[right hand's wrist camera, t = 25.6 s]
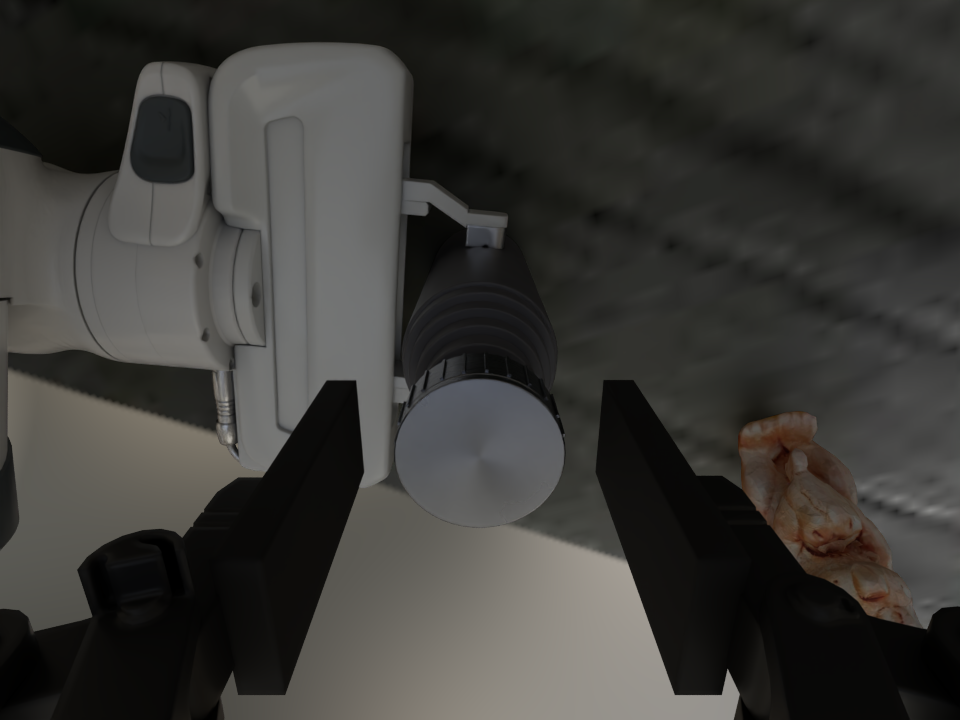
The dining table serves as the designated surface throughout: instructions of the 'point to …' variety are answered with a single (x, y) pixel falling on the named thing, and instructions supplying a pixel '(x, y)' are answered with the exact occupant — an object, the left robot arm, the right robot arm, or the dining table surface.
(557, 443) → the cap
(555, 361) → the bottle
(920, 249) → the dining table surface
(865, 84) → the dining table surface
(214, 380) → the left robot arm
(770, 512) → the figurine
